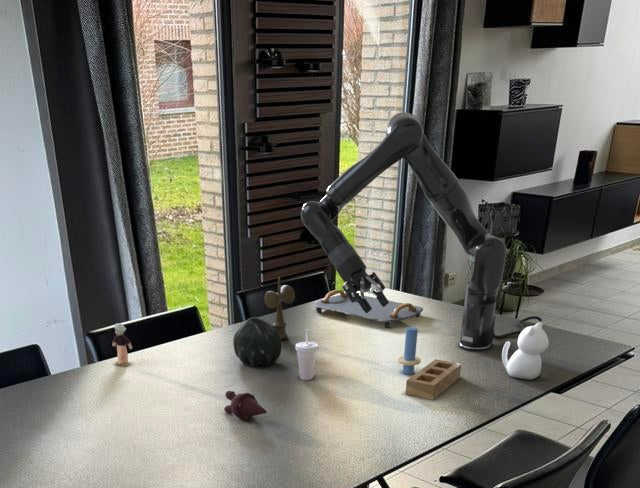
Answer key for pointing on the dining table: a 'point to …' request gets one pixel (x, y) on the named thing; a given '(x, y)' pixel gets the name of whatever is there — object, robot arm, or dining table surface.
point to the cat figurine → (526, 353)
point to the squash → (257, 342)
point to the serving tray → (378, 313)
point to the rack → (433, 379)
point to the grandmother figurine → (121, 345)
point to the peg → (410, 351)
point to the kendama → (280, 305)
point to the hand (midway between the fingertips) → (377, 308)
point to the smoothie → (306, 358)
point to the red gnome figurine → (243, 405)
